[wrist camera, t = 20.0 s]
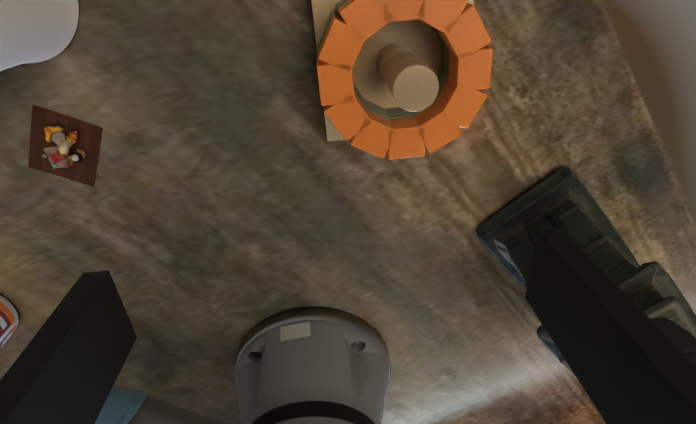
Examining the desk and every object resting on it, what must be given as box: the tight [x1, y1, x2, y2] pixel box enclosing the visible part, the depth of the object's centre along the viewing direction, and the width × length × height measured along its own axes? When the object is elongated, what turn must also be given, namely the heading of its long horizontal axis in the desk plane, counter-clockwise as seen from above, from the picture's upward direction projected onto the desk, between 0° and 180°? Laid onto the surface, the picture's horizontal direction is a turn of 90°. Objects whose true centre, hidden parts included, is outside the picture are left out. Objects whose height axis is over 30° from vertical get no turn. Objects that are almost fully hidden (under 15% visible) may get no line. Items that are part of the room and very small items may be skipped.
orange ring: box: [317, 0, 493, 160], centre depth 26 cm, size 10×10×2 cm
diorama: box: [29, 105, 103, 187], centre depth 31 cm, size 3×4×2 cm
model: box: [476, 167, 696, 375], centre depth 32 cm, size 14×9×15 cm, turn 44°
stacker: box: [311, 0, 474, 141], centre depth 26 cm, size 10×10×8 cm
